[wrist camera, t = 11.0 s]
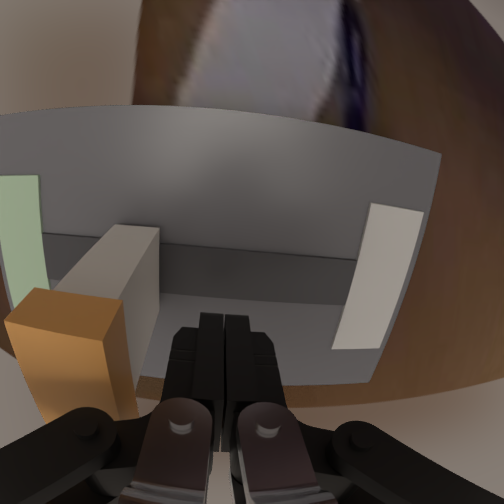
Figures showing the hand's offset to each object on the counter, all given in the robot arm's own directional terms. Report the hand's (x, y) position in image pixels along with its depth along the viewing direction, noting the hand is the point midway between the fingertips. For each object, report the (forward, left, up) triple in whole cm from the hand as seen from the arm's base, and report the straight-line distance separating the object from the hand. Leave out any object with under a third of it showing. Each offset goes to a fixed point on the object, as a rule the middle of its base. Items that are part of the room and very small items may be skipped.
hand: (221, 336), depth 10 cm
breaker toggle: (+4, 0, -4) cm, 6 cm away
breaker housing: (+1, 0, -10) cm, 10 cm away
